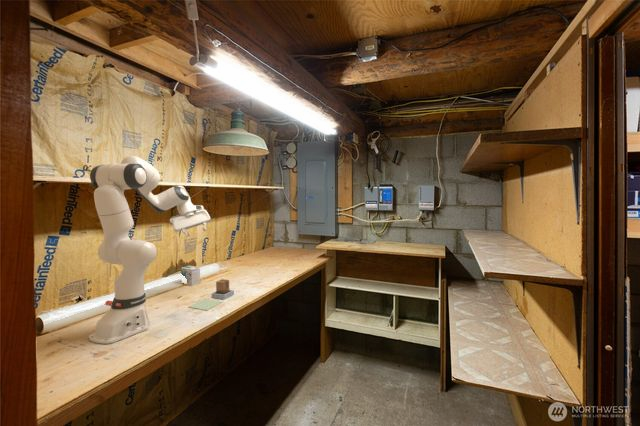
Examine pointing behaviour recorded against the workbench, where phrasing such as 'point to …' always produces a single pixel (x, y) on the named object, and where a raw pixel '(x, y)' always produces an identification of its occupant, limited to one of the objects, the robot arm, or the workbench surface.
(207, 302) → the rubber mat
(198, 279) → the light bulb box
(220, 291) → the walnut block
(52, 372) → the workbench surface
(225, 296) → the gray square frame
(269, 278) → the workbench surface
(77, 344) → the workbench surface
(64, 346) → the workbench surface
